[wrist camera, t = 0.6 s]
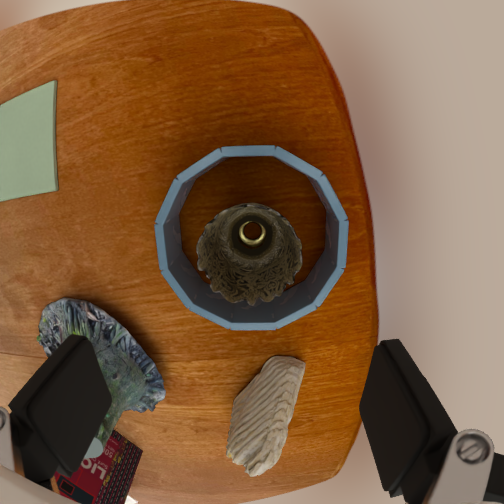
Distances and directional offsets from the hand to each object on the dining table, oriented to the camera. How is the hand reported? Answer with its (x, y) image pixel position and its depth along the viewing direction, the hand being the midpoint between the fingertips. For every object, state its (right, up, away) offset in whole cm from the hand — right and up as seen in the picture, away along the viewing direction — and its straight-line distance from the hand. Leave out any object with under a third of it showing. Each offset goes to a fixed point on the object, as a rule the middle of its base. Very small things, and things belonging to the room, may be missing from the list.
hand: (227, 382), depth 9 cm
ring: (+1, +6, +20) cm, 21 cm away
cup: (+1, +6, +20) cm, 21 cm away
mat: (-27, +17, +17) cm, 37 cm away
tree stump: (-20, -9, +25) cm, 34 cm away
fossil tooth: (+2, -14, +26) cm, 30 cm away
